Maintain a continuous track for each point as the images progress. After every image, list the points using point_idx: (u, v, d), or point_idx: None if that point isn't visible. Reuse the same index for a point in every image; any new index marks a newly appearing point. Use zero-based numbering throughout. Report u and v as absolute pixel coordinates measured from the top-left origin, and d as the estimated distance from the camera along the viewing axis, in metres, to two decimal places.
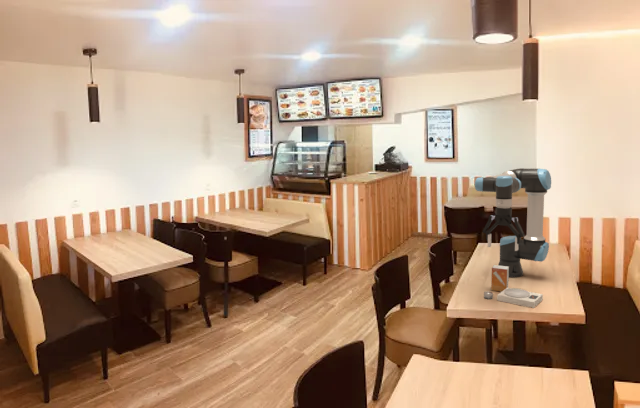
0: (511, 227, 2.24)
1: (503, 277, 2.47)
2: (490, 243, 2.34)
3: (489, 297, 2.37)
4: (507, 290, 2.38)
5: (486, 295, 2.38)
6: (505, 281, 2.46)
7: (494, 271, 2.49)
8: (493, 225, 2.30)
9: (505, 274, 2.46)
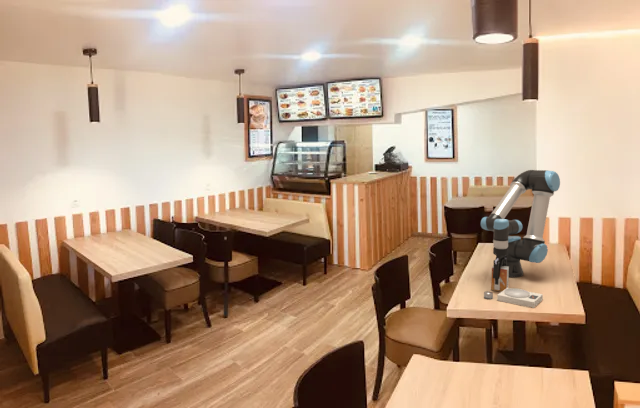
0: None
1: (503, 277, 2.47)
2: None
3: (489, 297, 2.37)
4: (507, 290, 2.38)
5: (486, 295, 2.38)
6: (505, 281, 2.46)
7: None
8: None
9: (505, 274, 2.46)
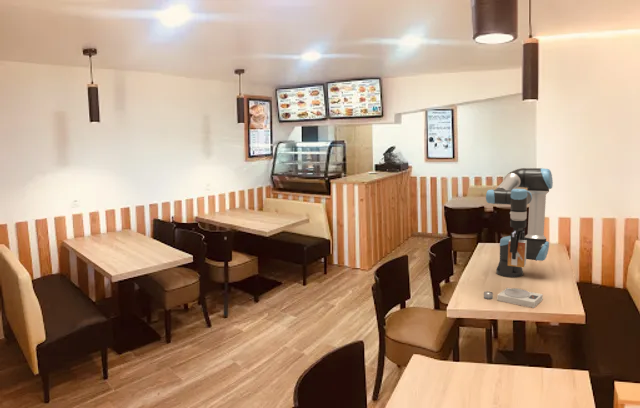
0: None
1: (520, 251, 2.29)
2: None
3: (489, 297, 2.37)
4: (507, 290, 2.38)
5: (486, 295, 2.38)
6: (523, 255, 2.28)
7: None
8: None
9: (523, 248, 2.28)
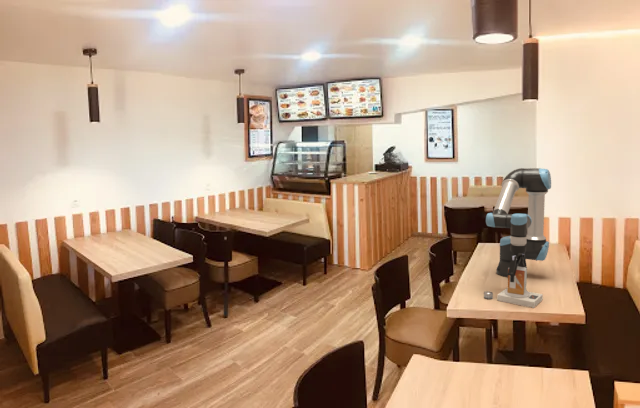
0: None
1: (520, 278, 2.30)
2: None
3: (489, 297, 2.37)
4: None
5: (486, 295, 2.38)
6: (522, 283, 2.30)
7: None
8: None
9: (522, 276, 2.29)
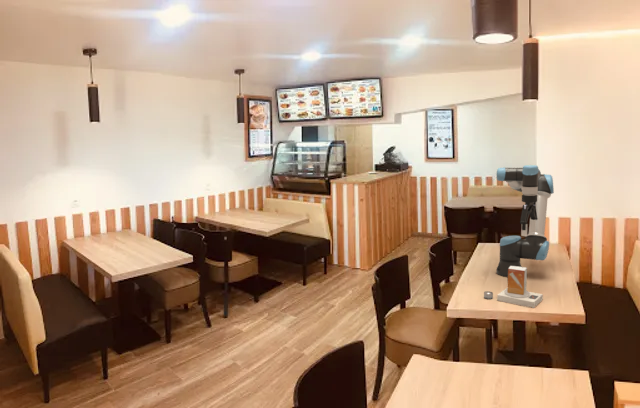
0: None
1: (520, 278, 2.30)
2: (533, 228, 2.48)
3: (489, 297, 2.37)
4: None
5: (486, 295, 2.38)
6: (522, 283, 2.30)
7: (510, 272, 2.33)
8: None
9: (522, 276, 2.29)
